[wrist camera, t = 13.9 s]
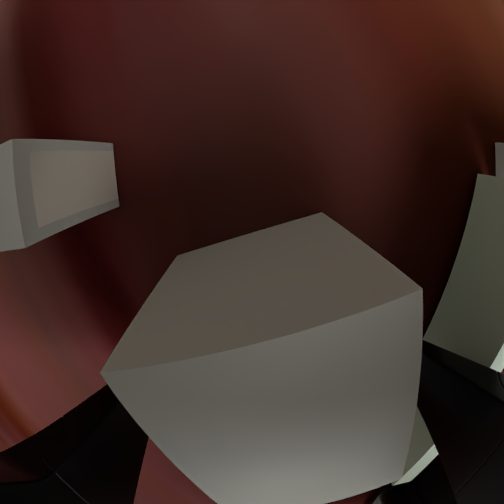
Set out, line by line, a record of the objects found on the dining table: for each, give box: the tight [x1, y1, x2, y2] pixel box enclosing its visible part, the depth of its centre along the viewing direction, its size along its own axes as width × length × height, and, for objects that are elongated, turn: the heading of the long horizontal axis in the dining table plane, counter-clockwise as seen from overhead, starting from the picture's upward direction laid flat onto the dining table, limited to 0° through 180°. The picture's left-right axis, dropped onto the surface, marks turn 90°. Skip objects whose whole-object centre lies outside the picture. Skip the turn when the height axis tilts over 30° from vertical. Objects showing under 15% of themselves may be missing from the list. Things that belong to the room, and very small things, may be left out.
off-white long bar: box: [0, 139, 504, 252], centre depth 6 cm, size 2×22×4 cm, turn 94°
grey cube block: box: [100, 212, 423, 504], centre depth 7 cm, size 6×5×6 cm
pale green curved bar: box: [392, 174, 504, 486], centre depth 8 cm, size 12×2×4 cm, turn 168°
